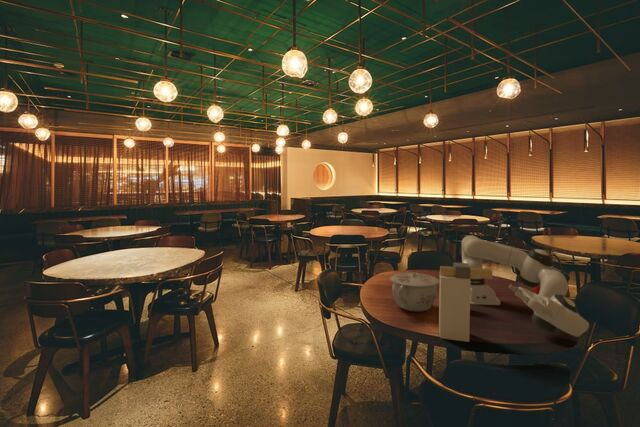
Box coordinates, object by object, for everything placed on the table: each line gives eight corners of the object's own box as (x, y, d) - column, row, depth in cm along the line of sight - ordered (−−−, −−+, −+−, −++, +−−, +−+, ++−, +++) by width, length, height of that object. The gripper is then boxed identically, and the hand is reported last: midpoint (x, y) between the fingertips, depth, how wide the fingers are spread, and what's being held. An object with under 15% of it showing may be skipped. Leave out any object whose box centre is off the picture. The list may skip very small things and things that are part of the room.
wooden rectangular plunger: (490, 276, 137) (490, 268, 136) (492, 279, 133) (492, 271, 133) (440, 273, 143) (440, 265, 143) (440, 275, 140) (440, 267, 139)
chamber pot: (423, 298, 192) (424, 265, 191) (449, 314, 165) (450, 277, 164) (381, 301, 187) (381, 267, 186) (400, 319, 160) (401, 280, 159)
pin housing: (466, 332, 144) (467, 262, 142) (469, 341, 135) (470, 267, 133) (439, 328, 148) (439, 261, 146) (440, 338, 138) (440, 266, 136)
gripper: (549, 323, 120) (515, 303, 123) (532, 305, 139) (502, 288, 142) (560, 311, 118) (524, 290, 122) (540, 294, 138) (510, 277, 141)
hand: (512, 289), depth 132 cm, fingers open, 8 cm apart
